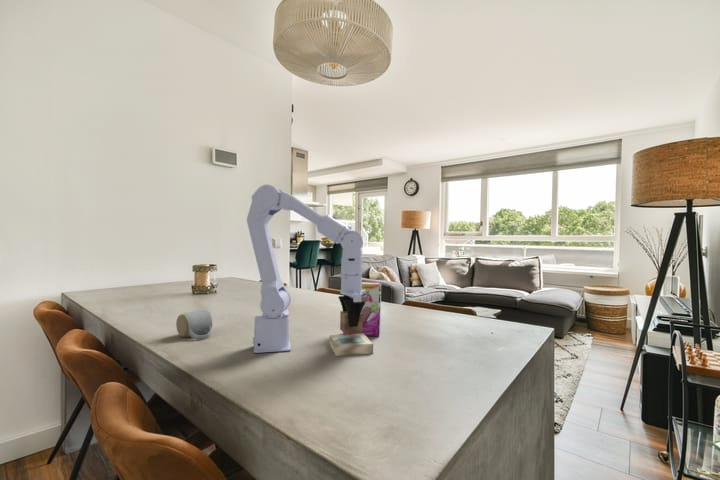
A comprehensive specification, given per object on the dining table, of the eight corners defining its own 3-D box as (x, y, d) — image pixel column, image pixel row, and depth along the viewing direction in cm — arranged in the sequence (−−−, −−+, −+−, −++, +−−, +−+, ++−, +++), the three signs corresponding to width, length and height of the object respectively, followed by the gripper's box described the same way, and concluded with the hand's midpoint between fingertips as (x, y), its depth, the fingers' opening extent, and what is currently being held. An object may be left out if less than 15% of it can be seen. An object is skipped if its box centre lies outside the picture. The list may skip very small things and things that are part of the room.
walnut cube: (344, 333, 90) (344, 314, 90) (340, 329, 95) (340, 311, 95) (362, 332, 91) (362, 314, 91) (357, 328, 96) (357, 310, 96)
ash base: (335, 355, 87) (336, 345, 87) (329, 344, 97) (329, 335, 97) (373, 353, 89) (373, 343, 89) (363, 342, 99) (363, 333, 99)
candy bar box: (344, 335, 105) (344, 283, 105) (346, 331, 110) (347, 281, 110) (380, 337, 104) (380, 284, 104) (380, 332, 109) (381, 282, 109)
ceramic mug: (174, 335, 103) (174, 310, 103) (200, 330, 109) (201, 306, 109) (191, 343, 97) (192, 316, 96) (218, 336, 103) (219, 311, 103)
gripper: (373, 277, 87) (372, 329, 87) (359, 271, 101) (358, 317, 101) (346, 277, 85) (345, 331, 85) (335, 272, 99) (335, 318, 99)
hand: (350, 323), depth 93 cm, fingers closed on walnut cube, 5 cm apart
